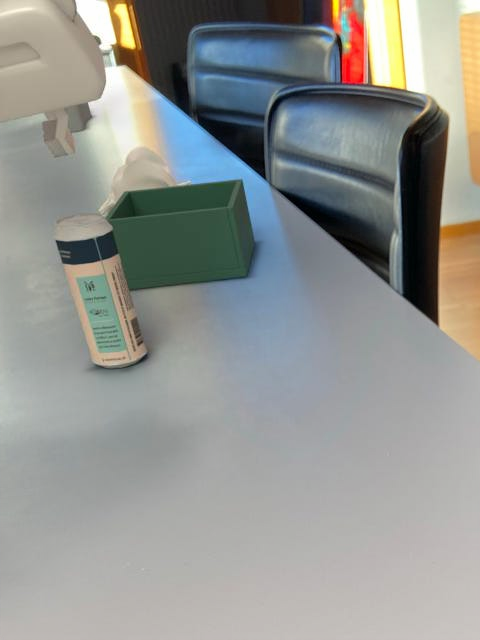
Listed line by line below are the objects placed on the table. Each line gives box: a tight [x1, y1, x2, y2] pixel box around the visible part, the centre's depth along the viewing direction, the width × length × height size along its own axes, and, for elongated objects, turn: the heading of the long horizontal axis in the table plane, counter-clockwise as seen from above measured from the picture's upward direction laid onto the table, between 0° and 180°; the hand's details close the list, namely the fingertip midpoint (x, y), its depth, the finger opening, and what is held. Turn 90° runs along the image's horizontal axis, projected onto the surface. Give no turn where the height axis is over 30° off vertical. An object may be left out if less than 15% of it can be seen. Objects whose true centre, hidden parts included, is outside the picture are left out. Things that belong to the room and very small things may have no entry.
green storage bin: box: [104, 178, 256, 291], centre depth 111 cm, size 13×13×7 cm
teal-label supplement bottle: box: [52, 212, 148, 369], centre depth 87 cm, size 5×5×12 cm
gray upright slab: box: [67, 102, 93, 133], centre depth 191 cm, size 17×5×25 cm, turn 12°
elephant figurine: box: [97, 145, 192, 217], centre depth 124 cm, size 10×12×9 cm
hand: (0, 163), depth 73 cm, fingers open, 8 cm apart
